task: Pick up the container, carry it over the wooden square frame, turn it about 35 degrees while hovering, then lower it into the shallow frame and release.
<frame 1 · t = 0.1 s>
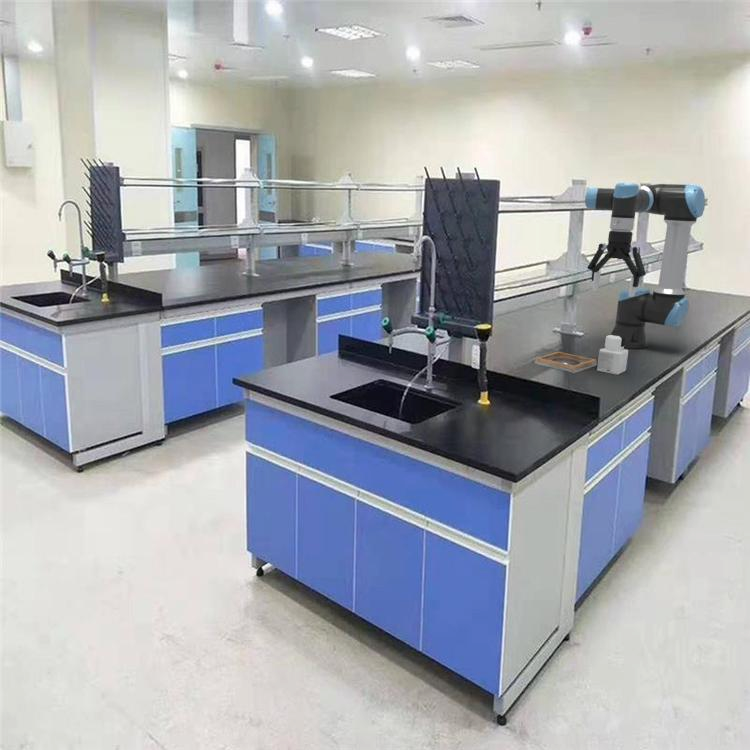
hand: (612, 293, 240), 28 cm above the counter, fingers open, 13 cm apart
wooden square frame: (565, 364, 255), on the counter
container: (611, 371, 249), on the counter
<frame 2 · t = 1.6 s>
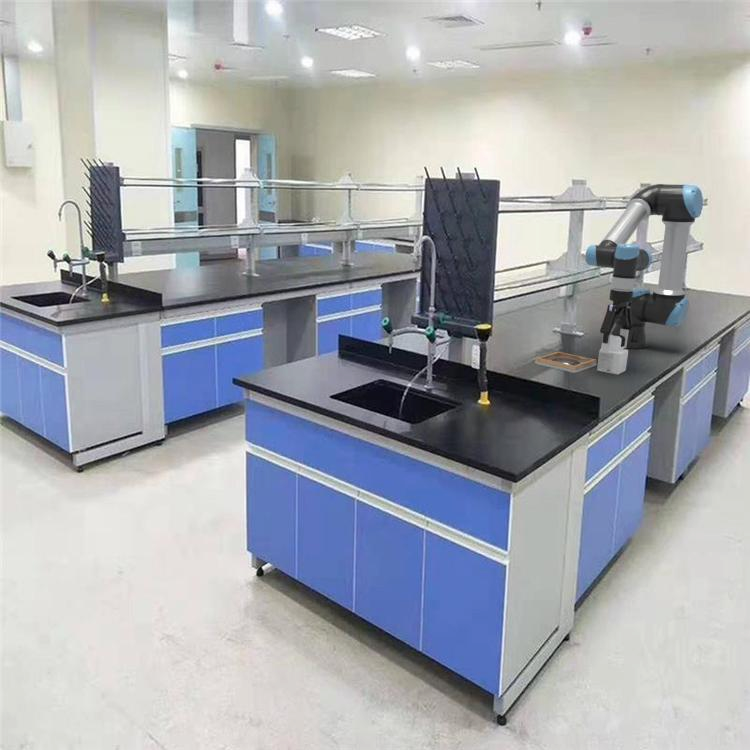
hand: (613, 349, 247), 8 cm above the counter, fingers open, 13 cm apart
nothing on the counter moved.
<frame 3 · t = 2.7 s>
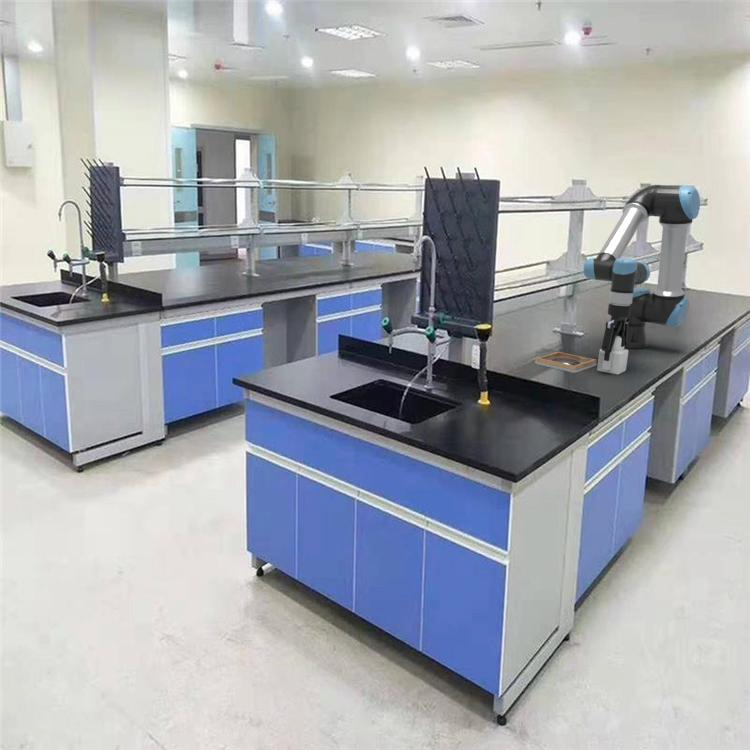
hand: (611, 367, 249), 1 cm above the counter, fingers closed on container, 8 cm apart
container: (611, 371, 249), on the counter, touching gripper
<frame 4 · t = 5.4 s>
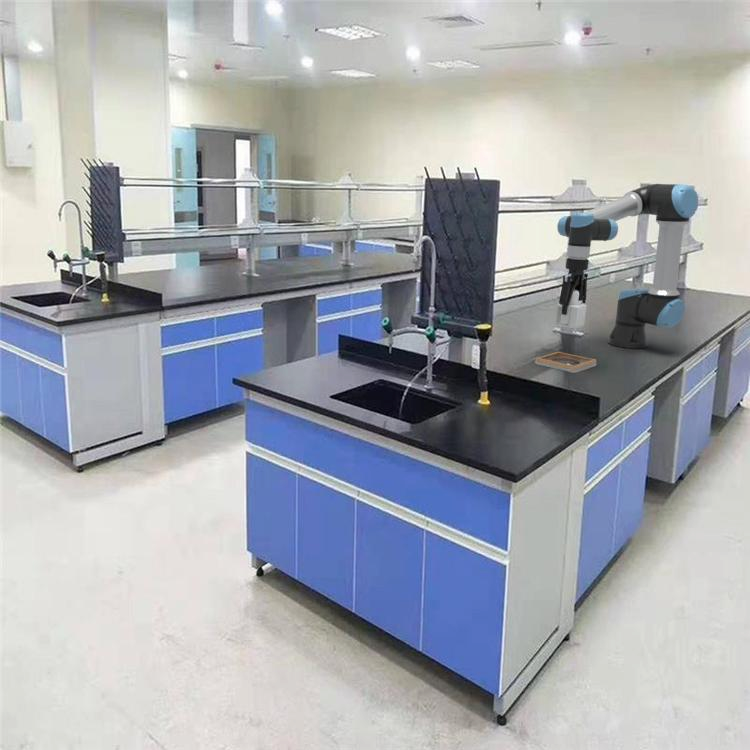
hand: (570, 322, 251), 16 cm above the counter, fingers closed on container, 8 cm apart
container: (569, 326, 251), point 14 cm above the counter, touching gripper
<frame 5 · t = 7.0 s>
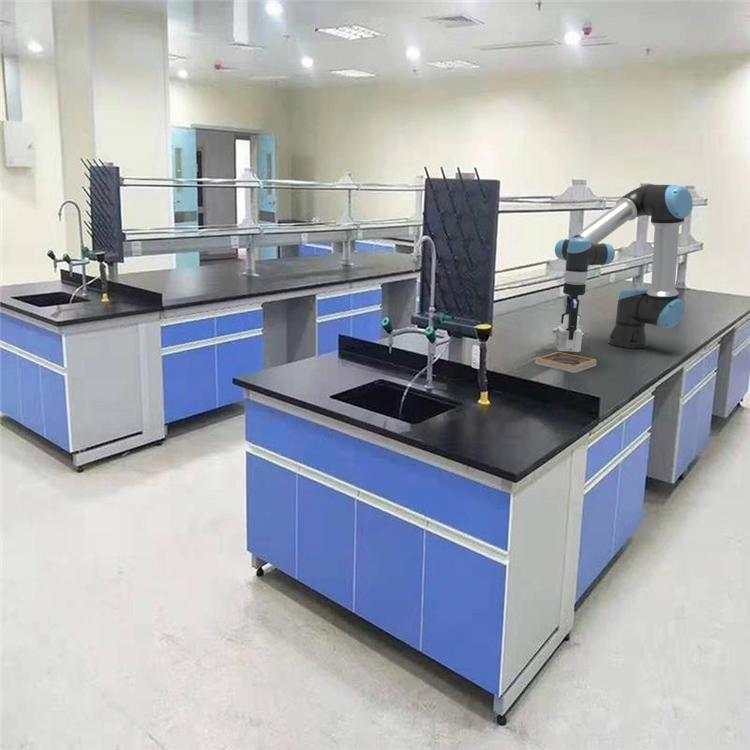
hand: (567, 345, 253), 7 cm above the counter, fingers closed on container, 8 cm apart
container: (567, 349, 254), point 6 cm above the counter, touching gripper
when the fingers open (5 cm above the counter, at t = 8.0 s): container drops 2 cm, resting on wooden square frame.
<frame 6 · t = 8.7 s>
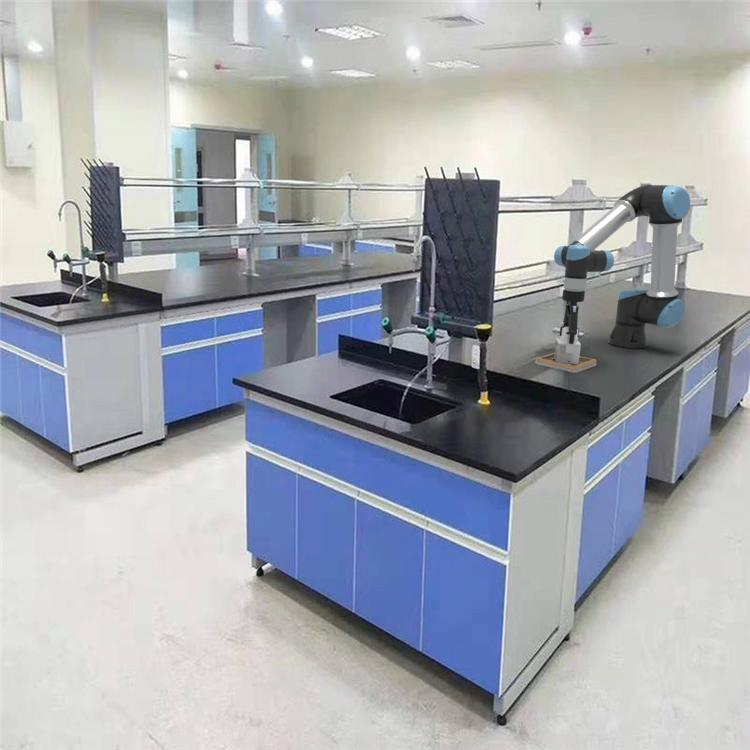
hand: (567, 348, 253), 6 cm above the counter, fingers open, 13 cm apart
container: (565, 362, 255), point 1 cm above the counter, touching wooden square frame
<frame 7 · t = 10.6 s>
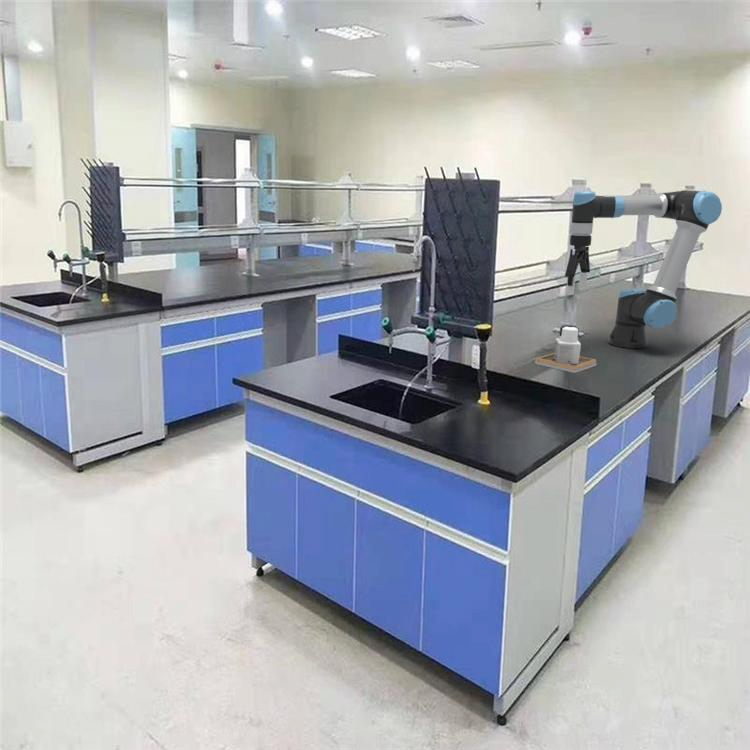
hand: (576, 292, 263), 24 cm above the counter, fingers open, 13 cm apart
nothing on the counter moved.
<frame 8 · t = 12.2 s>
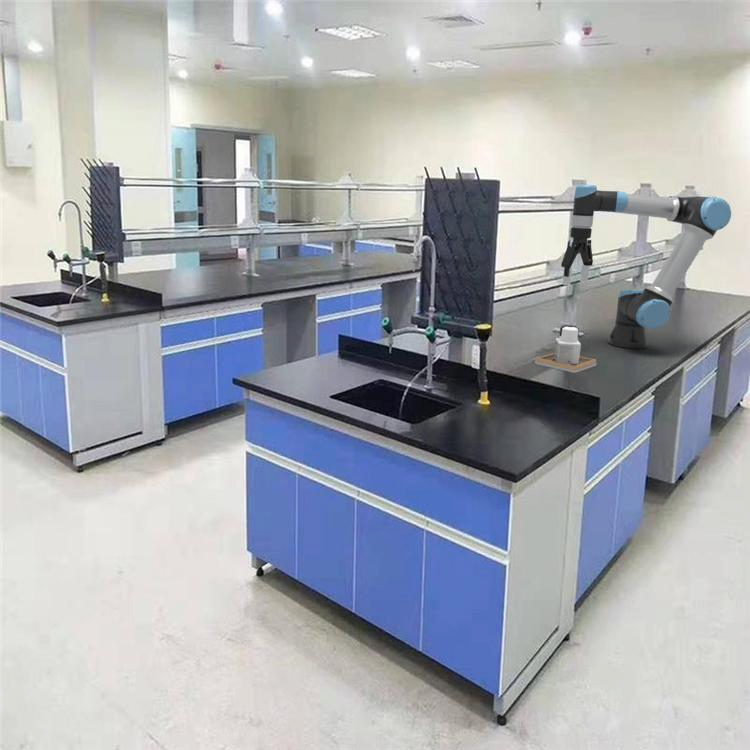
hand: (575, 283, 268), 27 cm above the counter, fingers open, 13 cm apart
nothing on the counter moved.
at the end: container inside the target area on the wooden square frame (0.1 cm from its centre), point 1.0 cm above the wooden square frame's base; container tilted 0°; the gripper is holding nothing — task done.
